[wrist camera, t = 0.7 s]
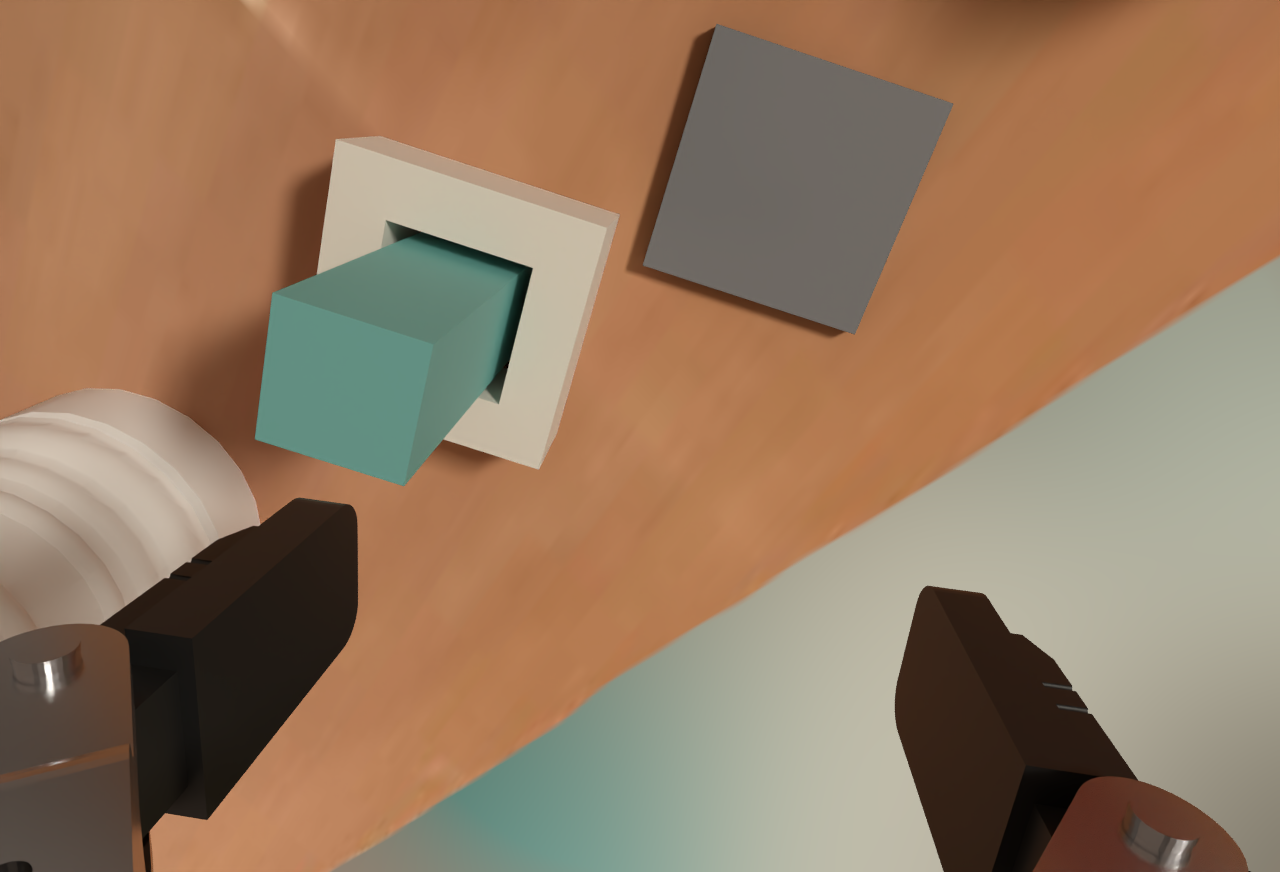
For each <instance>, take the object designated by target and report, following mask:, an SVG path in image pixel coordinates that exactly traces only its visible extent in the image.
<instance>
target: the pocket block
mask: <svg viewBox="0 0 1280 872" xmlns="http://www.w3.org/2000/svg"><path fill="white" fill-rule="evenodd" d="M619 216H620V214H617V213H614V212H611V211H608V210H605V209H602V208H598V207H595V206H592V205H589V204H586V203H583V202H580V201H577V200H574V199H571V198H568V197H565V196H562V195H559V194H556V193H553V192H550V191H547V190H544V189H541V188H537V187H534V186H531V185H528V184H525V183H522V182H519V181H516V180H513V179H510V178H507V177H504V176H501V175H498V174H495V173H492V172H489V171H486V170H483V169H479V168H476V167H473V166H470V165H467V164H464V163H461V162H458V161H455V160H452V159H449V158H446V157H443V156H440V155H437V154H434V153H431V152H428V151H425V150H422V149H418V148H415V147H412V146H409V145H406V144H403V143H400V142H397V141H394V140H391V139H388V138H385V137H382V136H373V137H360V138H346V139H336V143H335V150H334V157H333V164H332V171H331V178H330V185H329V192H328V199H327V206H326V213H325V220H324V227H323V234H322V241H321V248H320V255H319V262H318V269H317V274H320V273H322V272H325V271H327V270H330V269H332V268H335V267H337V266H339V265H342V264H344V263H347V262H349V261H352V260H354V259H357V258H359V257H361V256H364V255H366V254H369V253H371V252H374V251H376V250H379V249H381V248H383V247H386V246H388V245H391V244H393V243H396V242H398V241H401V240H403V239H405V238H408V237H410V236H413V235H415V234H418V232H419V231H421V232H424V233H427V234H430V235H433V236H436V237H439V238H442V239H446V240H449V241H452V242H455V243H458V244H461V245H464V246H467V247H470V248H473V249H476V250H479V251H483V252H486V253H489V254H492V255H495V256H498V257H501V258H504V259H507V260H510V261H513V262H516V263H520V264H523V265H526V266H529V267H532V268H533V271H532V275H531V279H530V283H529V286H528V290H527V294H526V298H525V302H524V306H523V310H522V314H521V318H520V322H519V326H518V330H517V334H516V338H515V342H514V346H513V350H512V354H511V358H510V362H509V366H508V369H506V368H502V369H501V371H500V372H499V373H498V374H497V375H496V377H495V378H494V379H493V380H492V381H491V383H490V384H489V385H488V386H487V387H486V388H485V390H484V391H483V392H482V393H481V394H480V396H479V397H478V398H477V399H476V400H475V402H474V403H473V404H472V405H471V406H470V408H469V409H468V410H467V411H466V412H465V414H464V415H463V416H462V417H461V418H460V420H459V421H458V422H457V423H456V424H455V426H454V427H453V428H452V429H451V430H450V432H449V433H448V434H447V435H446V436H445V438H444V440H447V441H450V442H453V443H456V444H460V445H463V446H466V447H469V448H472V449H475V450H479V451H482V452H485V453H488V454H491V455H494V456H498V457H501V458H504V459H507V460H510V461H513V462H517V463H520V464H523V465H526V466H529V467H532V468H536V469H539V468H540V466H541V464H542V462H543V460H544V458H545V456H546V454H547V452H548V450H549V448H550V446H551V444H552V442H553V440H554V438H555V436H556V434H557V432H558V428H559V425H560V421H561V418H562V414H563V411H564V407H565V404H566V400H567V397H568V393H569V390H570V386H571V383H572V379H573V376H574V372H575V369H576V365H577V362H578V358H579V355H580V351H581V348H582V344H583V341H584V338H585V334H586V331H587V327H588V324H589V320H590V317H591V313H592V310H593V306H594V303H595V299H596V296H597V292H598V289H599V285H600V282H601V278H602V275H603V271H604V268H605V264H606V261H607V257H608V254H609V250H610V247H611V244H612V240H613V237H614V233H615V230H616V226H617V223H618V219H619Z"/></svg>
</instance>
